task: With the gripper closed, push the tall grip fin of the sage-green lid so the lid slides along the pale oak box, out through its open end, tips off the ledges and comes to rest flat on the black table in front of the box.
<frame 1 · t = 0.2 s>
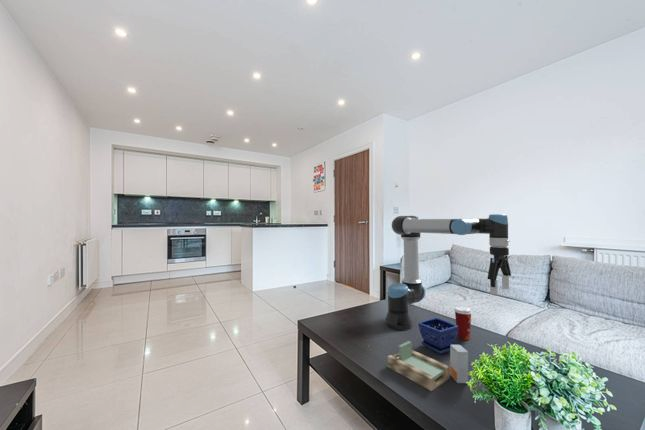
hand: (500, 291, 125), 28 cm above the table, fingers open, 13 cm apart
flower pot: (438, 348, 128), on the table
oak box: (417, 372, 108), on the table
coffee cup: (463, 337, 139), on the table
lid: (417, 367, 108), point 2 cm above the table, touching oak box
skincare box: (458, 379, 103), on the table
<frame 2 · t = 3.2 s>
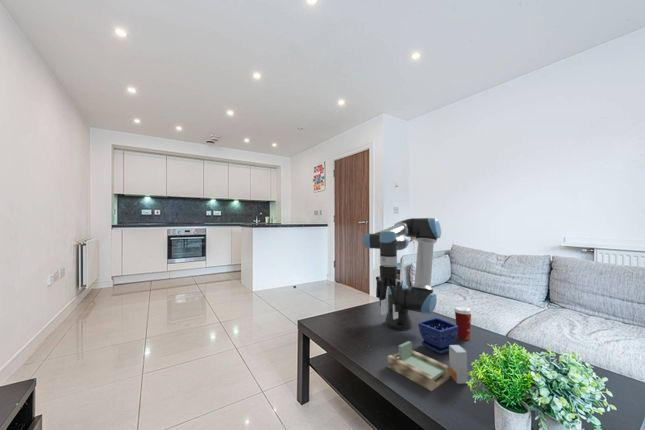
hand: (389, 316, 120), 19 cm above the table, fingers open, 6 cm apart
nothing on the table moved.
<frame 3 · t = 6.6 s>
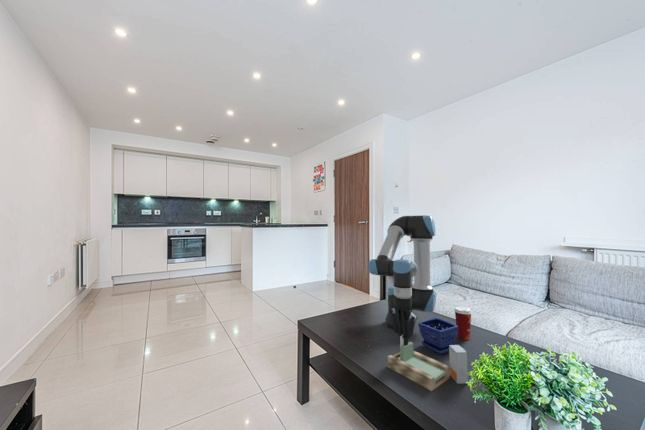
hand: (403, 351, 113), 6 cm above the table, fingers closed
lid: (419, 367, 107), point 2 cm above the table, touching gripper, oak box
everything else where it was.
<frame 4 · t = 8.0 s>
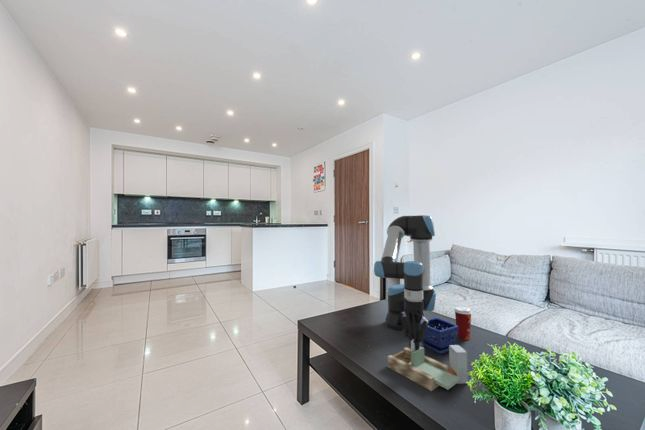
hand: (414, 356, 109), 6 cm above the table, fingers closed
lid: (431, 374, 103), point 2 cm above the table, touching gripper, oak box
everything else where it was.
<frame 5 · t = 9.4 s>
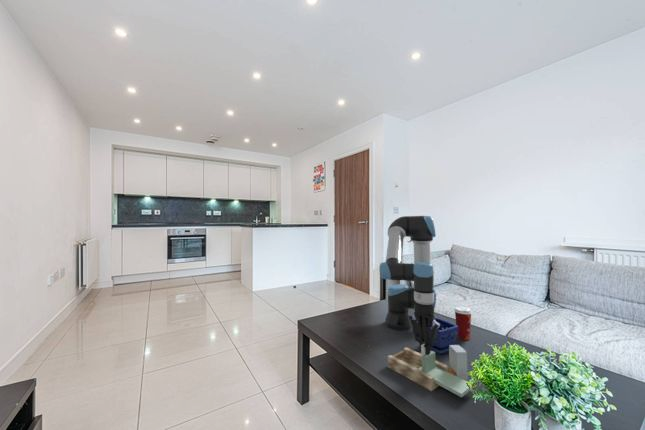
hand: (425, 361, 105), 6 cm above the table, fingers closed
lid: (443, 380, 99), point 2 cm above the table, touching gripper
everything else where it was.
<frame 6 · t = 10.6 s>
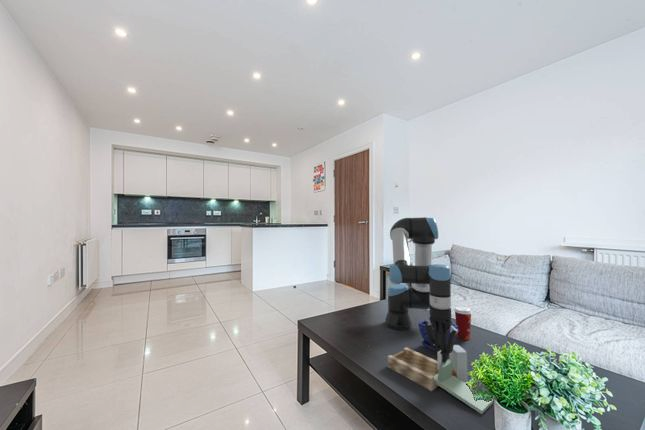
hand: (441, 368, 100), 6 cm above the table, fingers closed
lid: (460, 391, 94), point 1 cm above the table, tilted 8°, touching gripper
everything else where it was.
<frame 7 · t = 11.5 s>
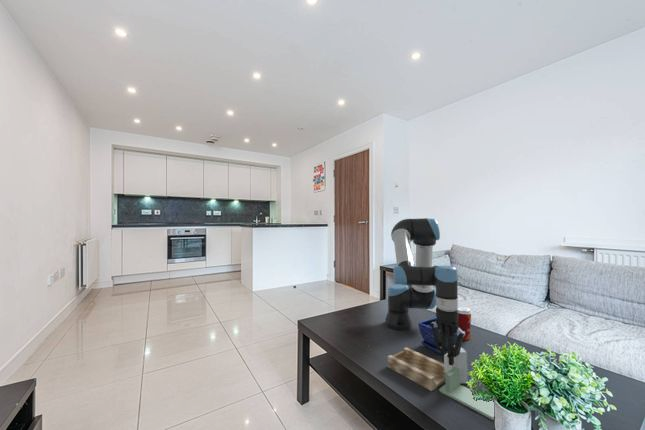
hand: (448, 372, 98), 6 cm above the table, fingers closed
lid: (469, 400, 92), on the table, touching gripper
everything else where it was.
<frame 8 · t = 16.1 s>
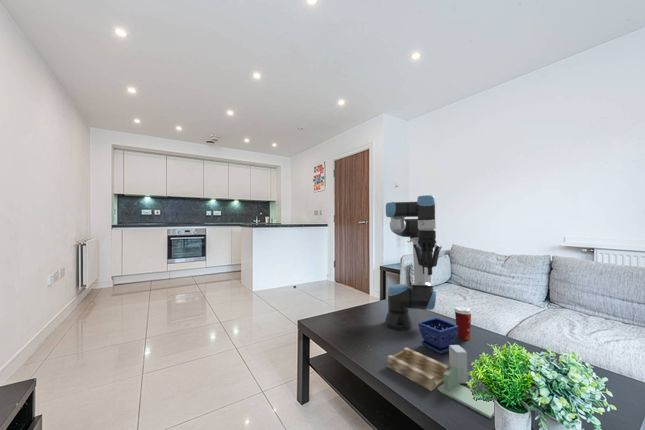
hand: (427, 281, 119), 34 cm above the table, fingers closed
lid: (468, 399, 92), on the table
everything else where it was.
at the end: lid inside the target area (2.7 cm from its centre), on the table; lid tilted 0°; lid touching table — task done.
